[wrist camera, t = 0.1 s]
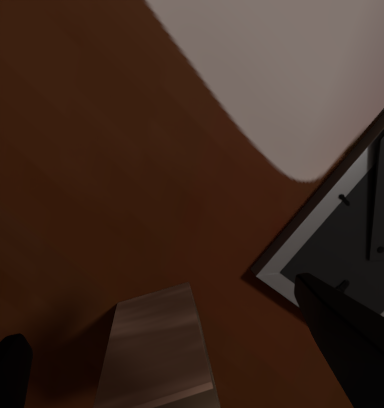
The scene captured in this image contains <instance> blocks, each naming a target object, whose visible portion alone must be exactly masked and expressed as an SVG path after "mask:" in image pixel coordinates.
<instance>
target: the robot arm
mask: <svg viewBox="0 0 384 408" xmlns="http://www.w3.org/2000/svg"><path fill="white" fill-rule="evenodd" d="M294 296H295V299H296V301H297V303H298V305H299V307H300V310H301V312H302V314H303V316H304V318H305V321H306V323H307V325H308V327H309V329H310V331H311V334H312V336H313V338H314V340H315V342H316V344H317V345H318V347H319V349H320V351H321V352H322V354H323V356H324V357H325V359H326V361H327V363H328V364H329V366H330V368H331V369H332V371H333V373H334V375H335V376H336V378H337V380H338V381H339V383H340V385H341V386H342V388H343V390H344V392H345V393H346V395H347V397H348V398H349V400H350V402H351V403H352V405H353V407H354V408H384V317H383V316H382V315H380V314H378V313H376V312H375V311H373V310H371V309H370V308H368V307H366V306H365V305H363V304H361V303H359V302H358V301H356V300H354V299H353V298H351V297H349V296H348V295H346V294H344V293H342V292H341V291H339V290H337V289H336V288H334V287H332V286H331V285H329V284H327V283H325V282H324V281H322V280H320V279H319V278H317V277H315V276H314V275H312V274H310V273H301V274H297V275H296V277H295V285H294ZM32 358H33V351H32V348H31V347H30V345H29V343H28V342H27V340H26V339H25V337H24V336H23V335H22V334H14V335H9V336H7V337H5V338H4V339H3V340H2V341H1V342H0V408H24V404H25V399H26V393H27V387H28V381H29V375H30V370H31V364H32Z"/></svg>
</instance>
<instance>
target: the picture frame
mask: <svg viewBox="0 0 384 408" xmlns="http://www.w3.org/2000/svg"><path fill="white" fill-rule="evenodd" d="M383 113H384V108H383V110H382V111H381V112H380V113H379V114H378V115H377V117H376V118H378V117H379V116H380V115H382V114H383ZM376 118H375V119H376ZM375 119H374V120H375ZM374 120H373V121H374ZM373 121H372V122H373ZM372 122H371V123H372ZM251 270H252V272H253V273H254V274H255V276H256V277H258V278H259V279H260V280H262V281H263V282H265V283H266V284H267V285H269V286H270V287H272V288H273V289H274V290H276V291H277V292H278V293H280V294H281V295H283V296H284V297H285V298H287V299H288V300H290V301H291V302H292V303H294V304H295V305H297V306H298V307H299V305H298V303H297V301H296V299H295V296H294V285H295V277H296V275H297V274H301V273H310V274H312V275H314V276H315V277H317V278H319V279H320V280H322V281H324V282H325V283H327V284H329V285H331V286H332V287H334V288H336V289H337V290H339V291H341V292H342V293H344V294H346V295H348V296H349V297H351V298H353V299H354V300H356V301H358V302H359V303H361V304H363V305H365V306H366V307H368V308H370V309H371V310H373V311H375V312H376V313H378V314H380V315H382V316H383V317H384V114H383V115H382V116H381V117H380V118H379V119H378V121H377V122H376V123H375V124H374V125H373V127H372V128H371V129H370V130H369V131H368V132H367V134H366V135H365V136H364V137H363V138H362V139H361V141H360V142H359V143H358V144H357V145H356V146H355V148H354V149H353V150H352V151H351V152H350V153H349V155H348V156H347V157H346V158H345V159H344V160H343V162H342V163H341V164H340V165H339V166H338V167H337V169H336V170H335V171H334V172H333V173H332V174H331V176H330V177H329V178H328V179H327V180H326V181H325V183H324V184H323V185H322V186H321V187H320V188H319V190H318V191H317V192H316V193H315V194H314V195H313V197H312V198H311V199H310V200H309V201H308V202H307V204H306V205H305V206H304V207H303V208H302V209H301V211H300V212H299V213H298V214H297V215H296V216H295V218H294V219H293V220H292V221H291V222H290V223H289V225H288V226H287V227H286V228H285V229H284V230H283V232H282V233H281V234H280V235H279V236H278V237H277V239H276V240H275V241H274V242H273V243H272V244H271V246H270V247H269V248H268V249H267V250H266V251H265V253H264V254H263V255H262V256H261V257H260V258H259V260H258V261H257V262H256V263H255V264H254V265H253V267H252V268H251ZM299 308H300V307H299Z"/></svg>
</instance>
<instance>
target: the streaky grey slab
mask: <svg viewBox="0 0 384 408" xmlns="http://www.w3.org/2000/svg"><path fill="white" fill-rule="evenodd" d="M93 408H220V403H219V399H218V395H217V391H216V387H215V382H214V378H213V374H212V370H211V365H210V361H209V357H208V353H207V349H206V344H205V340H204V336H203V332H202V328H201V323H200V319H199V315H198V312H197V308H196V305H195V301H194V298H193V294H192V291H191V288H190V284H189V282H187V283H183V284H180V285H177V286H173V287H170V288H167V289H163V290H160V291H156V292H153V293H150V294H146V295H143V296H140V297H136V298H133V299H130V300H126V301H123V302H119V303H117V307H116V311H115V315H114V320H113V324H112V328H111V333H110V337H109V341H108V346H107V350H106V354H105V359H104V363H103V367H102V372H101V376H100V380H99V385H98V389H97V393H96V398H95V402H94V406H93Z"/></svg>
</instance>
